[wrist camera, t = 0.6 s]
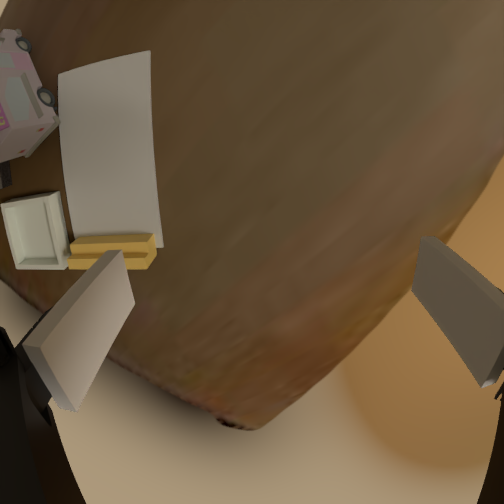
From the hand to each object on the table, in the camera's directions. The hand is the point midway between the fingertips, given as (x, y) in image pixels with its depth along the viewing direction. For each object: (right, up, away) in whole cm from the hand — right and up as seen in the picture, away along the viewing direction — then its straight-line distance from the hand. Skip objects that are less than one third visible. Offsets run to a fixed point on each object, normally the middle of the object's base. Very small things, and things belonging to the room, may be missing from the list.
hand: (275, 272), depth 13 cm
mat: (-20, +13, +23) cm, 33 cm away
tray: (-34, +4, +27) cm, 43 cm away
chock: (-20, +2, +27) cm, 34 cm away
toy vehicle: (-33, +25, +18) cm, 45 cm away
